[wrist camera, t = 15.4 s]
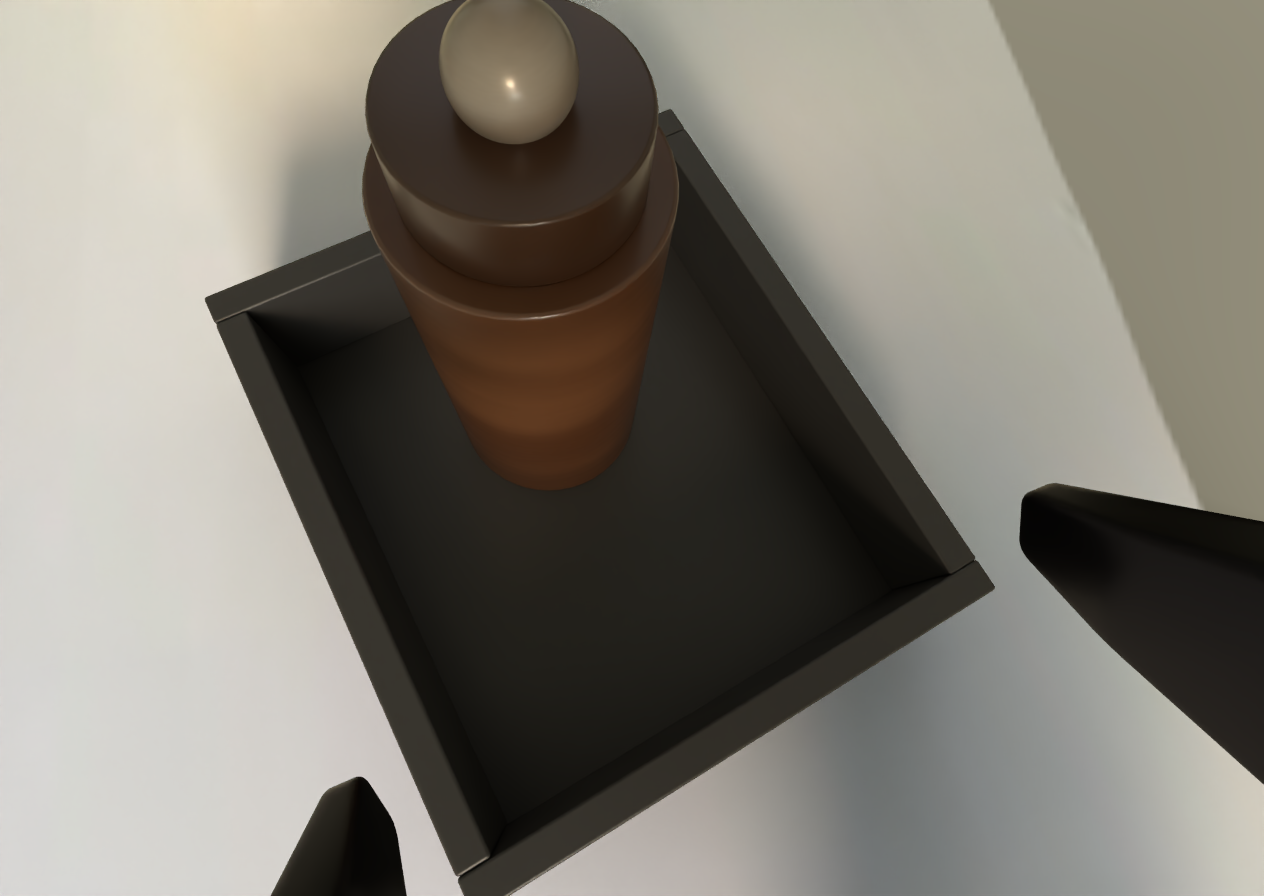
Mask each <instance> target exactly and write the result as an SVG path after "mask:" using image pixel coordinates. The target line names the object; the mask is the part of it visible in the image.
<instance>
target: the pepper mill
mask: <svg viewBox="0 0 1264 896" xmlns="http://www.w3.org/2000/svg"><path fill="white" fill-rule="evenodd" d="M365 116H366V123H367V130H368V133H369V137H370V140H371V145H370V148H369V151H368V153H367V156H366V161H365V166H364V172H363V178H362V197H363V205H364V212H365V215H366V219H367V222H368V225H369V228H370V231H371V233H372V235H373V237H374V240H375V242H376V244H377V246H378V248H379V250H380V252H381V254H382V256H383V258H384V261H385V263H386V265H387V267H388V269H389V271H390V273H391V275H392V277H393V280H394V282H395V284H396V286H397V288H398V290H399V292H400V294H401V296H402V298H403V301H404V303H405V305H406V307H407V309H408V311H409V313H410V315H411V317H412V320H413V322H414V324H415V326H416V328H417V330H418V332H419V334H420V336H421V338H422V341H423V343H424V345H425V347H426V349H427V351H428V353H429V355H430V357H431V360H432V362H433V364H434V366H435V368H436V370H437V372H438V374H439V376H440V378H441V381H442V383H443V385H444V387H445V389H446V391H447V393H448V395H449V397H450V400H451V402H452V404H453V406H454V408H455V410H456V412H457V414H458V416H459V419H460V421H461V423H462V425H463V427H464V429H465V431H466V433H467V435H468V437H469V440H470V442H471V444H472V446H473V448H474V450H475V451H476V453H477V454H478V456H479V457H480V459H481V460H482V461H483V462H484V463H485V464H486V465H487V466H488V467H489V468H490V469H491V470H492V471H494V472H495V473H496V474H497V475H499V476H501V477H502V478H504V479H505V480H507V481H509V482H512V483H514V484H516V485H519V486H522V487H525V488H530V489H536V490H561V489H566V488H571V487H575V486H577V485H580V484H583V483H585V482H587V481H589V480H591V479H593V478H595V477H596V476H598V475H599V474H601V473H602V472H603V471H605V470H606V469H607V468H608V467H609V466H610V465H611V464H612V463H613V462H614V461H615V460H616V459H617V458H618V456H619V455H620V453H621V452H622V450H623V449H624V447H625V445H626V443H627V441H628V438H629V435H630V432H631V429H632V425H633V420H634V415H635V410H636V405H637V401H638V396H639V391H640V386H641V381H642V376H643V372H644V367H645V362H646V357H647V352H648V348H649V343H650V338H651V333H652V328H653V324H654V319H655V314H656V309H657V304H658V299H659V295H660V290H661V285H662V280H663V275H664V271H665V266H666V261H667V256H668V251H669V246H670V242H671V237H672V232H673V227H674V222H675V218H676V212H677V206H678V198H679V182H678V174H677V167H676V163H675V160H674V156H673V153H672V150H671V148H670V145H669V143H668V141H667V139H666V137H665V134H664V132H663V131H662V129H661V128H660V126H659V124H658V100H657V92H656V89H655V86H654V82H653V79H652V76H651V74H650V72H649V69H648V67H647V65H646V63H645V61H644V59H643V58H642V56H641V55H640V53H639V52H638V50H637V49H636V47H635V46H634V45H633V44H632V43H631V42H630V40H629V39H628V38H627V37H626V36H625V35H624V34H623V33H622V32H621V31H620V30H619V29H617V28H616V27H615V26H614V25H613V24H611V23H610V22H609V21H607V20H606V19H604V18H603V17H602V16H600V15H598V14H596V13H595V12H593V11H591V10H589V9H587V8H586V7H583V6H581V5H578V4H576V3H574V2H571V1H569V0H451V1H448V2H445V3H443V4H441V5H439V6H436V7H434V8H432V9H430V10H428V11H427V12H425V13H423V14H422V15H420V16H418V17H417V18H415V19H414V20H413V21H411V22H410V23H409V24H408V25H406V26H405V27H404V28H403V29H402V30H401V31H400V32H399V33H398V34H397V35H396V36H395V37H394V38H393V39H392V40H391V41H390V42H389V44H388V45H387V46H386V48H385V49H384V50H383V52H382V53H381V55H380V57H379V59H378V60H377V62H376V64H375V66H374V68H373V71H372V74H371V77H370V80H369V84H368V89H367V94H366V104H365Z"/></svg>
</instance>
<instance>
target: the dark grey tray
mask: <svg viewBox="0 0 1264 896" xmlns="http://www.w3.org/2000/svg"><path fill="white" fill-rule="evenodd" d="M658 124H659V126H660V128H661V129H662V131H663V132H664V134H665V137H666V139H667V141H668V143H669V145H670V148H671V150H672V153H673V156H674V160H675V163H676V167H677V174H678V182H679V198H678V206H677V212H676V218H675V222H674V227H673V232H672V237H671V242H670V246H669V251H668V256H667V261H666V266H665V271H664V275H663V280H662V285H661V290H660V295H659V299H658V304H657V309H656V314H655V319H654V324H653V328H652V333H651V338H650V343H649V348H648V352H647V357H646V362H645V367H644V372H643V376H642V381H641V386H640V391H639V396H638V401H637V405H636V410H635V415H634V420H633V425H632V429H631V432H630V435H629V438H628V441H627V443H626V445H625V447H624V449H623V450H622V452H621V453H620V455H619V456H618V458H617V459H616V460H615V461H614V462H613V463H612V464H611V465H610V466H609V467H608V468H607V469H606V470H605V471H603V472H602V473H601V474H599V475H598V476H596V477H595V478H593V479H591V480H589V481H587V482H585V483H583V484H580V485H577V486H575V487H571V488H566V489H561V490H536V489H530V488H525V487H522V486H519V485H516V484H514V483H512V482H509V481H507V480H505V479H504V478H502V477H501V476H499V475H497V474H496V473H495V472H494V471H492V470H491V469H490V468H489V467H488V466H487V465H486V464H485V463H484V462H483V461H482V460H481V459H480V457H479V456H478V454H477V453H476V451H475V450H474V448H473V446H472V444H471V442H470V440H469V437H468V435H467V433H466V431H465V429H464V427H463V425H462V423H461V421H460V419H459V416H458V414H457V412H456V410H455V408H454V406H453V404H452V402H451V400H450V397H449V395H448V393H447V391H446V389H445V387H444V385H443V383H442V381H441V378H440V376H439V374H438V372H437V370H436V368H435V366H434V364H433V362H432V360H431V357H430V355H429V353H428V351H427V349H426V347H425V345H424V343H423V341H422V338H421V336H420V334H419V332H418V330H417V328H416V326H415V324H414V322H413V320H412V317H411V315H410V313H409V311H408V309H407V307H406V305H405V303H404V301H403V298H402V296H401V294H400V292H399V290H398V288H397V286H396V284H395V282H394V280H393V277H392V275H391V273H390V271H389V269H388V267H387V265H386V263H385V261H384V258H383V256H382V254H381V252H380V250H379V248H378V246H377V244H376V242H375V240H374V237H373V235H372V233H371V231H368V232H366V233H363V234H361V235H358V236H356V237H353V238H351V239H348V240H346V241H343V242H341V243H338V244H336V245H334V246H331V247H329V248H326V249H324V250H321V251H319V252H316V253H314V254H311V255H309V256H306V257H304V258H301V259H299V260H297V261H294V262H292V263H289V264H287V265H284V266H282V267H279V268H277V269H274V270H272V271H269V272H267V273H264V274H262V275H260V276H257V277H255V278H252V279H250V280H247V281H245V282H242V283H240V284H237V285H235V286H232V287H230V288H227V289H225V290H223V291H220V292H218V293H215V294H213V295H210V296H208V297H206V298H205V302H206V304H207V306H208V309H209V311H210V313H211V315H212V318H213V320H214V322H215V323H216V324H217V329H218V331H219V333H220V336H221V338H222V340H223V343H224V345H225V347H226V350H227V352H228V354H229V356H230V359H231V361H232V363H233V366H234V368H235V370H236V372H237V375H238V377H239V379H240V382H241V384H242V386H243V389H244V391H245V393H246V395H247V398H248V400H249V402H250V405H251V407H252V409H253V412H254V414H255V416H256V418H257V421H258V423H259V425H260V428H261V430H262V432H263V435H264V437H265V439H266V441H267V444H268V446H269V448H270V451H271V453H272V455H273V458H274V460H275V462H276V464H277V467H278V469H279V471H280V474H281V476H282V478H283V480H284V483H285V485H286V487H287V490H288V492H289V494H290V497H291V499H292V501H293V503H294V506H295V508H296V510H297V513H298V515H299V517H300V520H301V522H302V524H303V526H304V529H305V531H306V533H307V536H308V538H309V540H310V543H311V545H312V547H313V549H314V552H315V554H316V556H317V559H318V561H319V563H320V565H321V568H322V570H323V572H324V575H325V577H326V579H327V582H328V584H329V586H330V588H331V591H332V593H333V595H334V598H335V600H336V602H337V605H338V607H339V609H340V611H341V614H342V616H343V618H344V621H345V623H346V625H347V628H348V630H349V632H350V634H351V637H352V639H353V641H354V644H355V646H356V648H357V650H358V653H359V655H360V657H361V660H362V662H363V664H364V667H365V669H366V671H367V673H368V676H369V678H370V680H371V683H372V685H373V687H374V690H375V692H376V694H377V696H378V699H379V701H380V703H381V706H382V708H383V710H384V713H385V715H386V717H387V719H388V722H389V724H390V726H391V729H392V731H393V733H394V735H395V738H396V740H397V742H398V745H399V747H400V749H401V752H402V754H403V756H404V758H405V761H406V763H407V765H408V768H409V770H410V772H411V775H412V777H413V779H414V781H415V784H416V786H417V788H418V791H419V793H420V795H421V798H422V800H423V802H424V804H425V807H426V809H427V811H428V814H429V816H430V818H431V821H432V823H433V825H434V827H435V830H436V832H437V834H438V837H439V839H440V841H441V843H442V846H443V848H444V850H445V853H446V855H447V857H448V860H449V862H450V864H451V866H452V869H453V871H454V873H455V875H456V876H460V877H459V879H458V883H459V885H460V888H461V890H462V892H463V895H464V896H510V895H511V894H513V893H514V892H516V891H517V890H519V889H521V888H522V887H524V886H525V885H527V884H529V883H530V882H532V881H533V880H535V879H536V878H538V877H540V876H541V875H543V874H544V873H546V872H548V871H549V870H551V869H552V868H554V867H556V866H557V865H559V864H560V863H562V862H563V861H565V860H567V859H568V858H570V857H571V856H573V855H575V854H576V853H578V852H579V851H581V850H582V849H584V848H586V847H587V846H589V845H590V844H592V843H594V842H595V841H597V840H598V839H600V838H601V837H603V836H605V835H606V834H608V833H609V832H611V831H613V830H614V829H616V828H617V827H619V826H620V825H622V824H624V823H625V822H627V821H628V820H630V819H632V818H633V817H635V816H636V815H638V814H639V813H641V812H643V811H644V810H646V809H647V808H649V807H651V806H652V805H654V804H655V803H657V802H659V801H660V800H662V799H663V798H665V797H666V796H668V795H670V794H671V793H673V792H674V791H676V790H678V789H679V788H681V787H682V786H684V785H685V784H687V783H689V782H690V781H692V780H693V779H695V778H697V777H698V776H700V775H701V774H703V773H704V772H706V771H708V770H709V769H711V768H712V767H714V766H716V765H717V764H719V763H720V762H722V761H723V760H725V759H727V758H728V757H730V756H731V755H733V754H735V753H736V752H738V751H739V750H741V749H742V748H744V747H746V746H747V745H749V744H750V743H752V742H754V741H755V740H757V739H758V738H760V737H762V736H763V735H765V734H766V733H768V732H769V731H771V730H773V729H774V728H776V727H777V726H779V725H781V724H782V723H784V722H785V721H787V720H788V719H790V718H792V717H793V716H795V715H796V714H798V713H800V712H801V711H803V710H804V709H806V708H807V707H809V706H811V705H812V704H814V703H815V702H817V701H819V700H820V699H822V698H823V697H825V696H826V695H828V694H830V693H831V692H833V691H834V690H836V689H838V688H839V687H841V686H842V685H844V684H845V683H847V682H849V681H850V680H852V679H853V678H855V677H857V676H858V675H860V674H861V673H863V672H865V671H866V670H868V669H869V668H871V667H872V666H874V665H876V664H877V663H879V662H880V661H882V660H884V659H885V658H887V657H888V656H890V655H891V654H893V653H895V652H896V651H898V650H899V649H901V648H903V647H904V646H906V645H907V644H909V643H910V642H912V641H914V640H915V639H917V638H918V637H920V636H922V635H923V634H925V633H926V632H928V631H929V630H931V629H933V628H934V627H936V626H937V625H939V624H941V623H942V622H944V621H945V620H947V619H948V618H950V617H952V616H953V615H955V614H956V613H958V612H960V611H961V610H963V609H964V608H966V607H968V606H969V605H971V604H972V603H974V602H975V601H977V600H979V599H980V598H982V597H983V596H985V595H987V594H988V593H990V592H991V591H993V590H994V589H995V586H994V585H993V583H992V582H991V580H990V579H989V577H988V576H987V574H986V573H985V571H984V570H983V568H982V567H981V565H980V564H979V562H978V561H976V560H975V561H974V559H975V556H974V555H973V553H972V552H971V550H970V549H969V547H968V546H967V545H966V543H965V542H964V540H963V539H962V537H961V536H960V534H959V533H958V531H957V530H956V528H955V527H954V525H953V524H952V522H951V521H950V519H949V518H948V516H947V515H946V514H945V512H944V511H943V509H942V508H941V506H940V505H939V503H938V502H937V500H936V499H935V497H934V496H933V494H932V493H931V491H930V490H929V488H928V487H927V486H926V484H925V483H924V481H923V480H922V478H921V477H920V475H919V474H918V472H917V471H916V469H915V468H914V466H913V465H912V463H911V462H910V460H909V459H908V457H907V456H906V455H905V453H904V452H903V450H902V449H901V447H900V446H899V444H898V443H897V441H896V440H895V438H894V437H893V435H892V434H891V432H890V431H889V429H888V428H887V426H886V425H885V424H884V422H883V421H882V419H881V418H880V416H879V415H878V413H877V412H876V410H875V409H874V407H873V406H872V404H871V403H870V401H869V400H868V398H867V397H866V395H865V394H864V393H863V391H862V390H861V388H860V387H859V385H858V384H857V382H856V381H855V379H854V378H853V376H852V375H851V373H850V372H849V370H848V369H847V367H846V366H845V365H844V363H843V362H842V360H841V359H840V357H839V356H838V354H837V353H836V351H835V350H834V348H833V347H832V345H831V344H830V342H829V341H828V339H827V338H826V336H825V335H824V334H823V332H822V331H821V329H820V328H819V326H818V325H817V323H816V322H815V320H814V319H813V317H812V316H811V314H810V313H809V311H808V310H807V308H806V307H805V305H804V304H803V303H802V301H801V300H800V298H799V297H798V295H797V294H796V292H795V291H794V289H793V288H792V286H791V285H790V283H789V282H788V280H787V279H786V277H785V276H784V275H783V273H782V272H781V270H780V269H779V267H778V266H777V264H776V263H775V261H774V260H773V258H772V257H771V255H770V254H769V252H768V251H767V249H766V248H765V246H764V245H763V244H762V242H761V241H760V239H759V238H758V236H757V235H756V233H755V232H754V230H753V229H752V227H751V226H750V224H749V223H748V221H747V220H746V218H745V217H744V215H743V214H742V213H741V211H740V210H739V208H738V207H737V205H736V204H735V202H734V201H733V199H732V198H731V196H730V195H729V193H728V192H727V190H726V189H725V187H724V186H723V185H722V183H721V182H720V180H719V179H718V177H717V176H716V174H715V173H714V171H713V170H712V168H711V167H710V165H709V164H708V162H707V161H706V159H705V158H704V156H703V155H702V154H701V152H700V151H699V149H698V148H697V146H696V145H695V143H694V142H693V140H692V139H691V137H690V136H689V134H688V133H687V131H686V130H684V127H683V126H682V124H681V123H680V121H679V120H678V118H677V117H676V115H675V114H674V112H673V111H672V110H671V109H669V110H667V111H664V112H662V113H659V114H658Z"/></svg>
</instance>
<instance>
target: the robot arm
mask: <svg viewBox="0 0 1264 896" xmlns="http://www.w3.org/2000/svg"><path fill="white" fill-rule="evenodd" d="M1019 541H1020V546H1021V549H1022V551H1023V553H1024V554H1025V556H1026V557H1027V559H1028V560H1029V561H1030V562H1031V563H1032V564H1033V565H1034V566H1035V567H1036V569H1037V570H1038V571H1039V572H1040V573H1041V574H1042V575H1043V576H1044V577H1045V578H1046V579H1047V580H1048V581H1049V583H1050V584H1051V585H1052V586H1053V587H1054V588H1055V589H1056V590H1057V591H1058V592H1059V593H1060V594H1061V595H1062V596H1063V598H1064V599H1065V600H1066V601H1067V602H1068V603H1069V604H1070V605H1071V606H1072V607H1073V608H1074V609H1075V610H1076V612H1077V613H1078V614H1079V615H1080V616H1081V617H1082V618H1083V619H1084V620H1085V621H1086V622H1087V623H1088V624H1089V626H1090V627H1091V628H1092V629H1093V630H1094V631H1095V632H1096V633H1097V634H1098V635H1099V636H1100V637H1101V638H1102V639H1103V640H1104V641H1105V642H1106V643H1107V644H1108V645H1109V646H1110V647H1111V648H1112V649H1113V650H1114V651H1115V652H1116V653H1118V654H1119V655H1120V656H1121V657H1122V658H1123V659H1124V660H1125V661H1126V662H1127V663H1128V664H1130V665H1131V666H1132V667H1133V668H1134V669H1135V670H1136V671H1137V672H1139V673H1140V674H1141V675H1142V676H1143V677H1144V678H1145V679H1146V680H1147V681H1149V682H1150V683H1151V684H1152V685H1153V686H1154V687H1155V688H1156V689H1158V690H1159V691H1160V692H1161V693H1162V694H1163V695H1164V696H1165V697H1166V698H1168V699H1169V700H1170V701H1171V702H1172V703H1173V704H1174V705H1175V706H1177V707H1178V708H1179V709H1180V710H1181V711H1182V712H1183V713H1184V714H1185V715H1187V716H1188V717H1189V718H1190V719H1191V720H1192V721H1193V722H1194V723H1196V724H1197V725H1198V726H1199V727H1200V728H1201V729H1202V730H1203V731H1204V732H1206V733H1207V734H1208V735H1209V736H1210V737H1211V738H1212V739H1213V740H1214V741H1216V742H1217V743H1218V744H1219V745H1220V746H1221V747H1222V748H1223V749H1225V750H1226V751H1227V752H1228V753H1229V754H1230V755H1231V756H1232V757H1233V758H1235V759H1236V760H1237V761H1238V762H1239V763H1240V764H1241V765H1242V766H1244V767H1245V768H1246V769H1247V770H1248V771H1249V772H1250V773H1251V774H1252V775H1254V776H1255V777H1256V778H1257V779H1258V780H1259V781H1260V782H1261V783H1263V784H1264V522H1263V521H1257V520H1252V519H1246V518H1241V517H1236V516H1230V515H1224V514H1219V513H1214V512H1208V511H1203V510H1198V509H1193V508H1187V507H1182V506H1177V505H1171V504H1166V503H1160V502H1155V501H1150V500H1144V499H1139V498H1133V497H1128V496H1123V495H1117V494H1112V493H1107V492H1101V491H1096V490H1090V489H1085V488H1080V487H1074V486H1069V485H1064V484H1058V483H1051V484H1047V485H1045V486H1042V487H1040V488H1037V489H1035V490H1033V491H1030V492H1028V493H1027V494H1025V496H1024V497H1023V499H1022V503H1021V519H1020V536H1019ZM271 896H407V895H406V889H405V882H404V876H403V869H402V863H401V856H400V850H399V843H398V837H397V833H396V829H395V826H394V823H393V820H392V818H391V816H390V815H389V813H388V811H387V810H386V808H385V807H384V805H383V804H382V802H381V801H380V799H379V798H378V796H377V795H376V793H375V791H374V790H373V788H372V787H371V785H370V784H369V782H368V781H367V780H366V779H364V778H363V777H355V778H353V779H350V780H348V781H346V782H343V783H341V784H339V785H336V786H334V787H332V788H330V789H328V790H327V791H326V792H325V793H324V794H323V796H322V797H321V799H320V801H319V803H318V805H317V807H316V809H315V811H314V813H313V814H312V816H311V818H310V820H309V822H308V824H307V826H306V828H305V830H304V832H303V834H302V836H301V838H300V840H299V842H298V844H297V846H296V848H295V849H294V851H293V853H292V855H291V857H290V859H289V861H288V863H287V865H286V867H285V869H284V871H283V873H282V875H281V877H280V879H279V881H278V883H277V884H276V886H275V888H274V890H273V892H272V894H271Z"/></svg>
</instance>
